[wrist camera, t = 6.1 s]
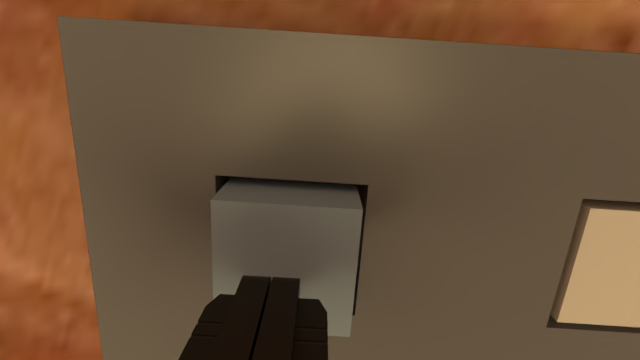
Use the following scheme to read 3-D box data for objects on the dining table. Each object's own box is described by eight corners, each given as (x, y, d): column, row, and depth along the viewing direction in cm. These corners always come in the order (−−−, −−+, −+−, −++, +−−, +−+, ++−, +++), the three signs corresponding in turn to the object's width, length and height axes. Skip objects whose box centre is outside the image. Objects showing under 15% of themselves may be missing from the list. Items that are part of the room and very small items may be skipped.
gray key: (356, 184, 13) (363, 209, 10) (346, 293, 14) (350, 337, 12) (231, 177, 13) (210, 200, 10) (232, 286, 14) (213, 328, 12)
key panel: (782, 73, 14) (949, 73, 10) (665, 360, 18) (755, 437, 14) (129, 31, 14) (57, 16, 10) (153, 328, 18) (107, 396, 14)
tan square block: (659, 193, 14) (724, 216, 12) (625, 291, 15) (678, 329, 13) (547, 186, 14) (590, 208, 12) (522, 284, 15) (557, 322, 13)
